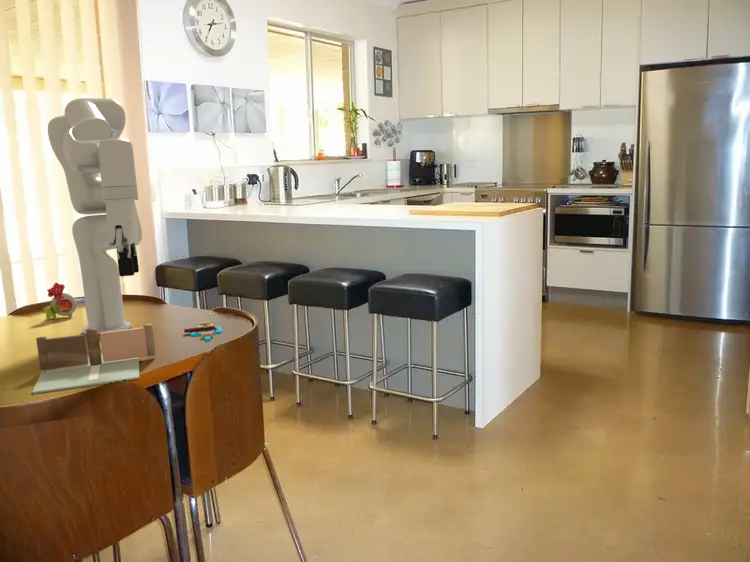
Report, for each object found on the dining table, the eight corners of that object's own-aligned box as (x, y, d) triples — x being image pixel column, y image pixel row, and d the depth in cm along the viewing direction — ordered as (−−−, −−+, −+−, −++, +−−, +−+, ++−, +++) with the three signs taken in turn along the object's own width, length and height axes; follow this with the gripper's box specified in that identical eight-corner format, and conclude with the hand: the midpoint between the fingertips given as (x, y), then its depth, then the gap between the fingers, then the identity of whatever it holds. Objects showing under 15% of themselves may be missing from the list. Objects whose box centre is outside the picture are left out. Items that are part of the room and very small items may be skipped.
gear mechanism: (185, 345, 165) (224, 340, 168) (183, 324, 164) (222, 320, 167) (183, 328, 184) (218, 324, 187) (182, 309, 183) (216, 305, 186)
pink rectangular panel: (103, 360, 150) (100, 329, 149) (155, 353, 154) (152, 323, 153) (103, 362, 148) (99, 331, 147) (156, 355, 152) (152, 325, 151)
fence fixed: (41, 370, 146) (36, 335, 145) (102, 362, 150) (97, 327, 149) (40, 373, 144) (35, 337, 143) (101, 364, 148) (97, 329, 147)
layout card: (47, 361, 155) (47, 359, 155) (138, 349, 161) (138, 347, 161) (32, 394, 131) (32, 391, 131) (139, 378, 138) (139, 376, 138)
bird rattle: (72, 321, 209) (41, 312, 206) (83, 288, 209) (53, 279, 206) (69, 325, 203) (37, 317, 200) (80, 291, 203) (49, 282, 200)
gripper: (112, 194, 159) (121, 270, 162) (92, 196, 142) (103, 281, 146) (144, 192, 160) (153, 268, 163) (129, 194, 143) (138, 278, 146)
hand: (129, 273), depth 154 cm, fingers open, 4 cm apart
